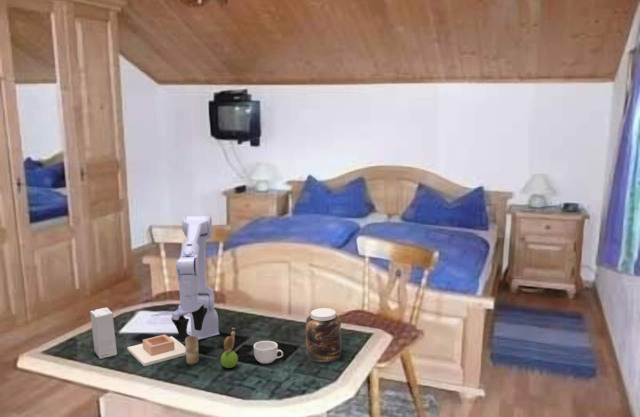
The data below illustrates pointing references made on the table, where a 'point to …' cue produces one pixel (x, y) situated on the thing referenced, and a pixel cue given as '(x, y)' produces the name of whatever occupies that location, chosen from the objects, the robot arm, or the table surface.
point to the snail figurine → (229, 352)
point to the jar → (323, 335)
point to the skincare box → (103, 332)
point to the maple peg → (192, 349)
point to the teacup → (266, 351)
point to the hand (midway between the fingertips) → (190, 333)
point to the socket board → (157, 350)
